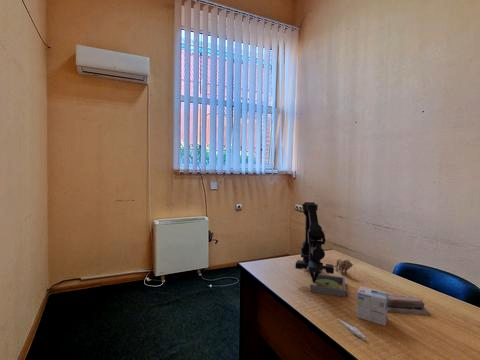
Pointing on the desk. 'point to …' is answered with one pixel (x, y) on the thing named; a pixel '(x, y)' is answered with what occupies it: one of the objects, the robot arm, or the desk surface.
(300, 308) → the desk surface
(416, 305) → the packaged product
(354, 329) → the stylus pen
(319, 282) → the green speckled disc
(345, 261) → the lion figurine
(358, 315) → the light bulb box
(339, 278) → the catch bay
